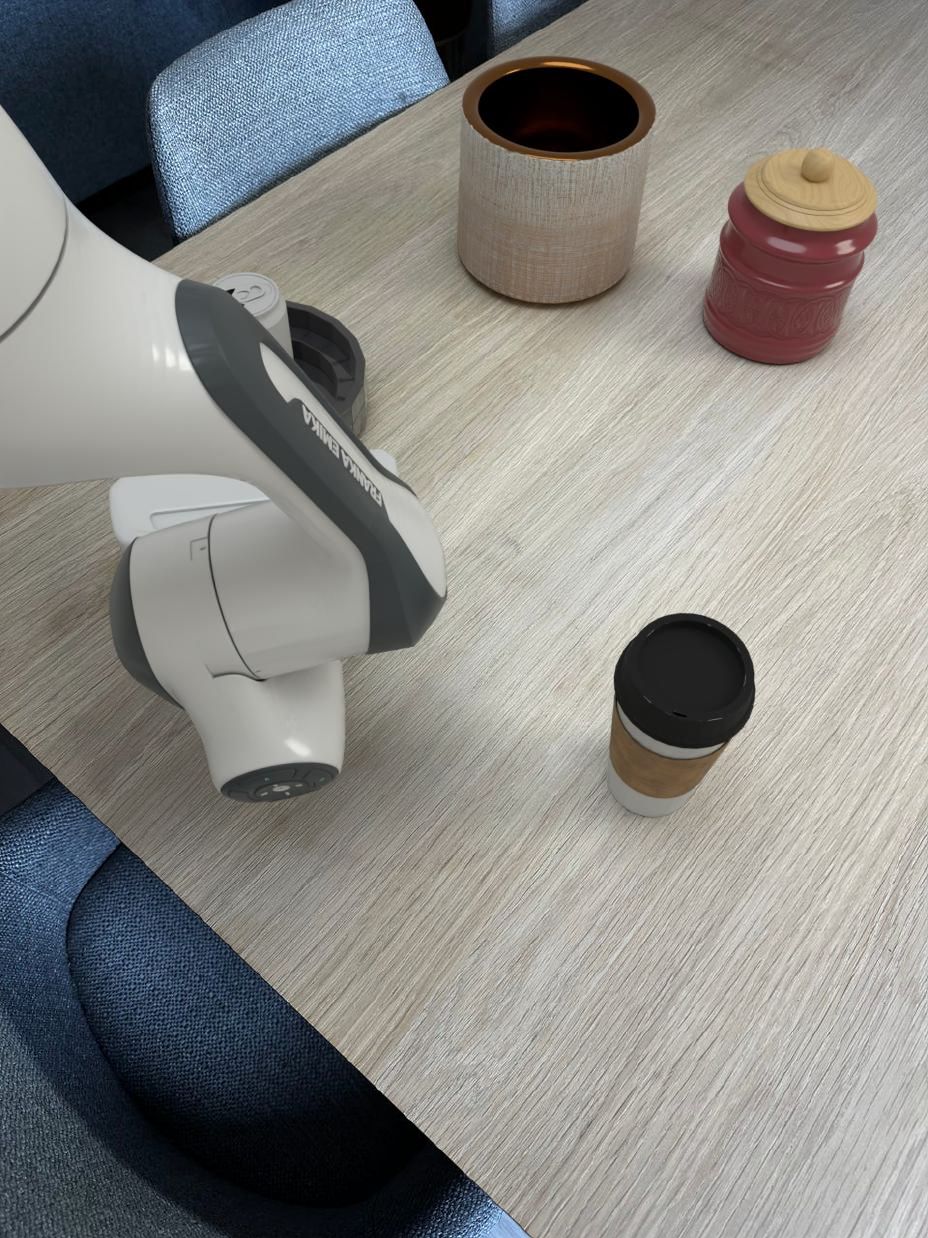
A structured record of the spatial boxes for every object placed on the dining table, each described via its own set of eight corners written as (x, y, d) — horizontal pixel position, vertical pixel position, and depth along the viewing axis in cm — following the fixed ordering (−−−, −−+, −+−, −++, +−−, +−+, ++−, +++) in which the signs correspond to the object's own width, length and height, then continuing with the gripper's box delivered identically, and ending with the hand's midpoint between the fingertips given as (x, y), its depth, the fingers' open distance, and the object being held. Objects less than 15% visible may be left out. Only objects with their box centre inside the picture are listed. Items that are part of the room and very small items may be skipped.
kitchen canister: (714, 267, 105) (759, 95, 90) (843, 297, 103) (910, 125, 88) (686, 348, 98) (730, 175, 83) (824, 381, 95) (894, 210, 81)
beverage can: (216, 395, 91) (189, 281, 82) (284, 373, 93) (266, 259, 83) (241, 442, 88) (217, 329, 78) (311, 418, 90) (296, 305, 80)
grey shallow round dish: (174, 513, 85) (160, 471, 81) (140, 365, 95) (126, 321, 90) (393, 464, 88) (391, 421, 84) (338, 326, 98) (334, 282, 94)
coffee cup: (574, 812, 70) (603, 701, 58) (605, 710, 75) (638, 587, 63) (696, 851, 69) (752, 746, 57) (719, 745, 74) (776, 626, 61)
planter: (661, 241, 107) (692, 91, 94) (575, 335, 98) (597, 184, 85) (515, 183, 112) (526, 33, 99) (422, 267, 104) (420, 115, 91)
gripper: (416, 528, 68) (389, 385, 76) (99, 565, 66) (104, 413, 74) (418, 585, 74) (392, 445, 81) (123, 622, 71) (126, 474, 79)
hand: (253, 430), depth 78 cm, fingers open, 8 cm apart
